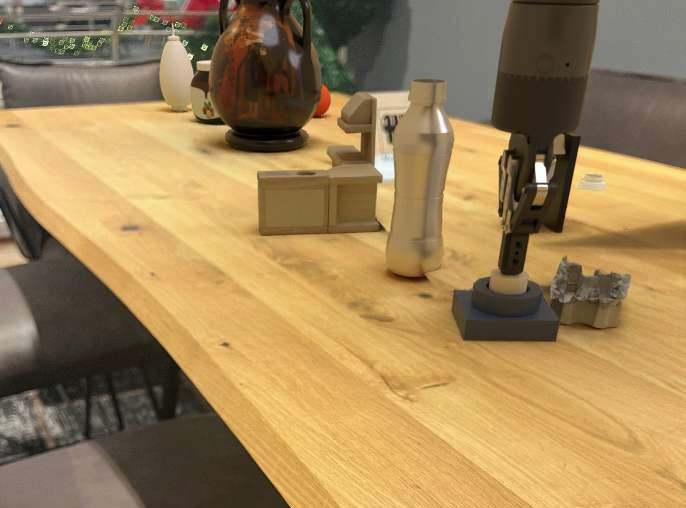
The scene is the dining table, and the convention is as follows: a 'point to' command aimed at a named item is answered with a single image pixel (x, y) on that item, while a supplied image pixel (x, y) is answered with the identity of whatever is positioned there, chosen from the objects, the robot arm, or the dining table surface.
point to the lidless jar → (592, 182)
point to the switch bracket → (562, 183)
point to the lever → (559, 146)
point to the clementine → (323, 102)
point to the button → (508, 282)
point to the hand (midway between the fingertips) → (509, 271)
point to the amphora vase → (265, 75)
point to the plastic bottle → (420, 181)
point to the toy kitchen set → (327, 184)
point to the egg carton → (587, 295)
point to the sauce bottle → (175, 74)
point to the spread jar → (203, 96)
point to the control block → (504, 314)
